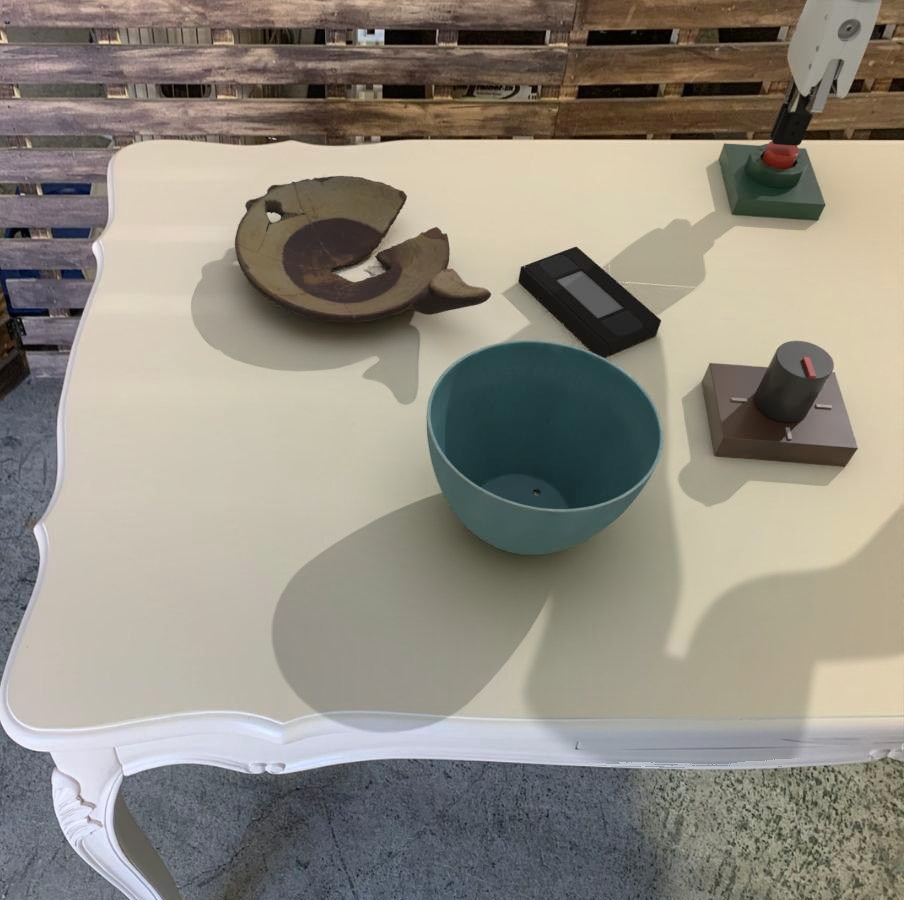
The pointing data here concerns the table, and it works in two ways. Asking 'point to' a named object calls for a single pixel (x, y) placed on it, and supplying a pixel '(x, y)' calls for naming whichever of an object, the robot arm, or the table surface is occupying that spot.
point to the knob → (793, 381)
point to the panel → (774, 421)
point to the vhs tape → (589, 302)
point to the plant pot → (540, 443)
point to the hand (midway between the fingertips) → (784, 140)
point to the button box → (769, 185)
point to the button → (780, 155)
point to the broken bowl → (344, 253)
